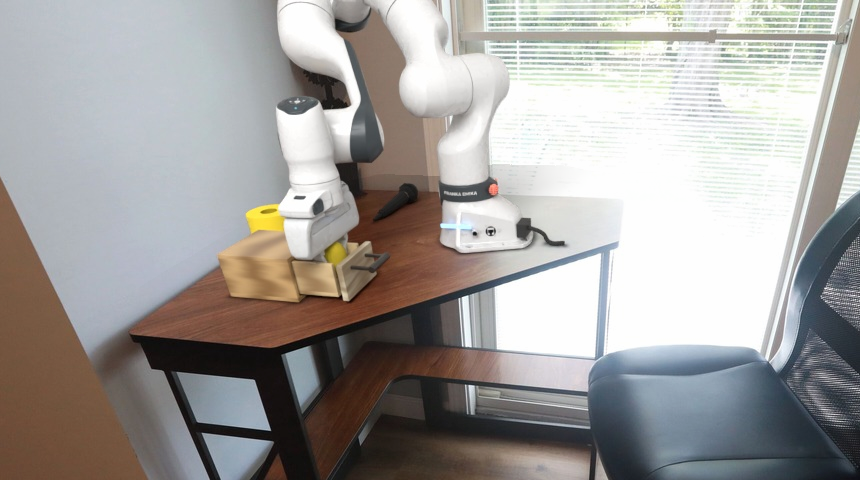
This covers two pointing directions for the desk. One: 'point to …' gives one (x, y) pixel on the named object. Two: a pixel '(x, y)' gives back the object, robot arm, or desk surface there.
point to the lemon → (335, 254)
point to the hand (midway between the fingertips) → (334, 263)
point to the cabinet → (260, 267)
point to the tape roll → (265, 218)
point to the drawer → (339, 272)
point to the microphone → (399, 200)
